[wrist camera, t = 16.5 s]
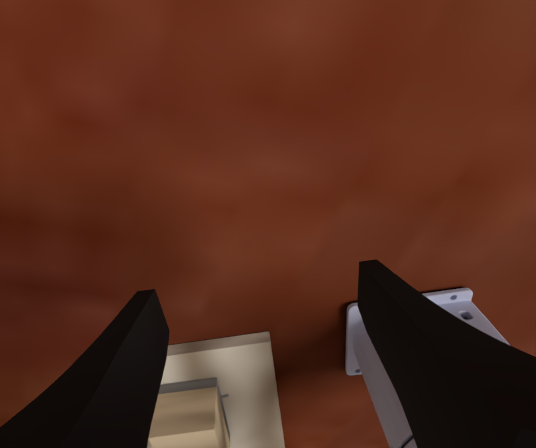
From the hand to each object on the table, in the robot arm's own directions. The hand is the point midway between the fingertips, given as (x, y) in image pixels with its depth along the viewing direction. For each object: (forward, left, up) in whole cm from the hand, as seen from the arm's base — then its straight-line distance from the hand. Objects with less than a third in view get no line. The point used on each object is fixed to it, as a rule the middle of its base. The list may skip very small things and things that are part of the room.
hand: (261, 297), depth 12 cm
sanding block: (+7, +19, -8) cm, 22 cm away
